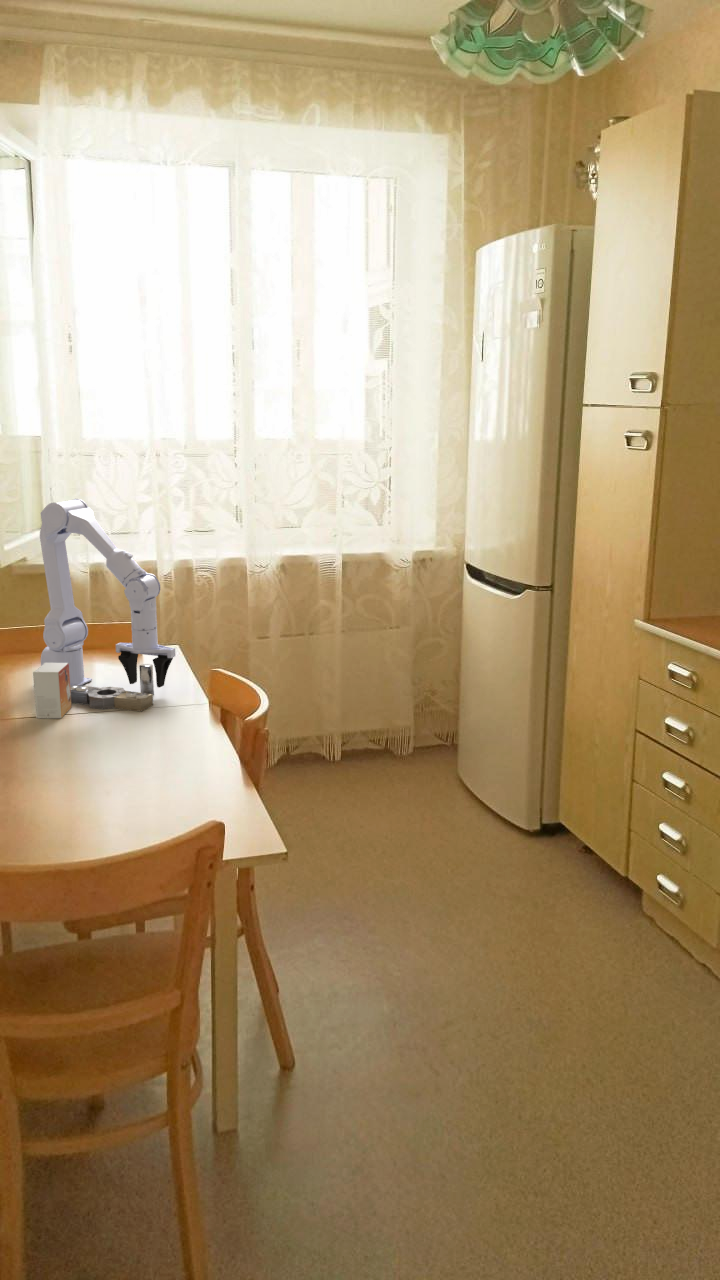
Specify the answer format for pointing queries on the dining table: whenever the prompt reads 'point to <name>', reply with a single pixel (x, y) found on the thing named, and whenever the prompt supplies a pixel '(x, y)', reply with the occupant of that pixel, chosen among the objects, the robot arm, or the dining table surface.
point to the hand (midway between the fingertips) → (146, 684)
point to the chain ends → (110, 698)
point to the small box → (52, 690)
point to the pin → (146, 678)
